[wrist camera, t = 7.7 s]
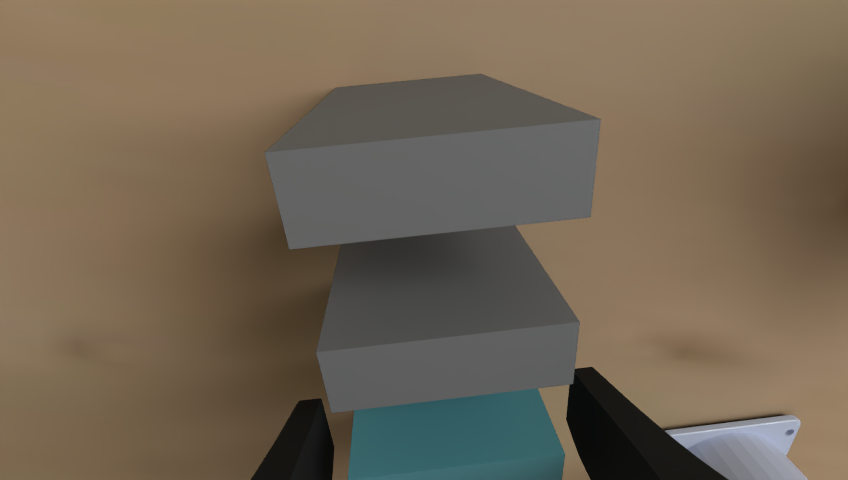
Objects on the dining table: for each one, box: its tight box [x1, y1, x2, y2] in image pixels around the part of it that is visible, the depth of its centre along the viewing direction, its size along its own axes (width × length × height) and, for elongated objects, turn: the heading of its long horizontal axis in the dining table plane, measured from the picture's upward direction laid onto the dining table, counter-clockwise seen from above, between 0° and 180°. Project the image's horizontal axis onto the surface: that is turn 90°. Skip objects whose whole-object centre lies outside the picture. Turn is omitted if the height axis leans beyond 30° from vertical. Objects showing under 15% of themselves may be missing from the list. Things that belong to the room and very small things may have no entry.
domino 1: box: [265, 74, 601, 250], centre depth 10 cm, size 2×5×9 cm, turn 95°
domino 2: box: [316, 225, 580, 413], centre depth 12 cm, size 2×5×9 cm, turn 95°
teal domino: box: [348, 388, 565, 480], centre depth 14 cm, size 2×5×9 cm, turn 94°
